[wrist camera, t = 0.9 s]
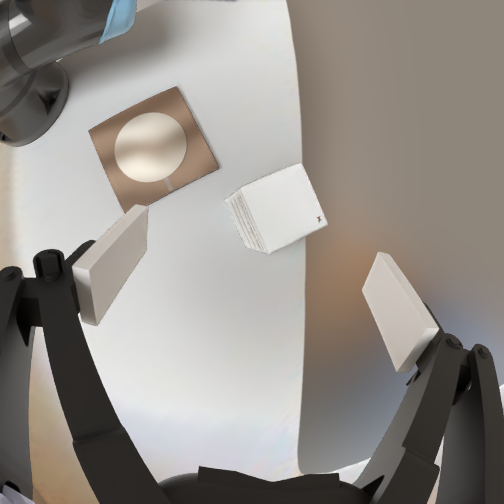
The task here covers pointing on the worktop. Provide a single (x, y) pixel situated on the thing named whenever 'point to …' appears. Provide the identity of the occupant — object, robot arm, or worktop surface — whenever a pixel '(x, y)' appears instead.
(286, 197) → the supplement box
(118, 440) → the robot arm
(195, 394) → the worktop surface
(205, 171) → the dial board
